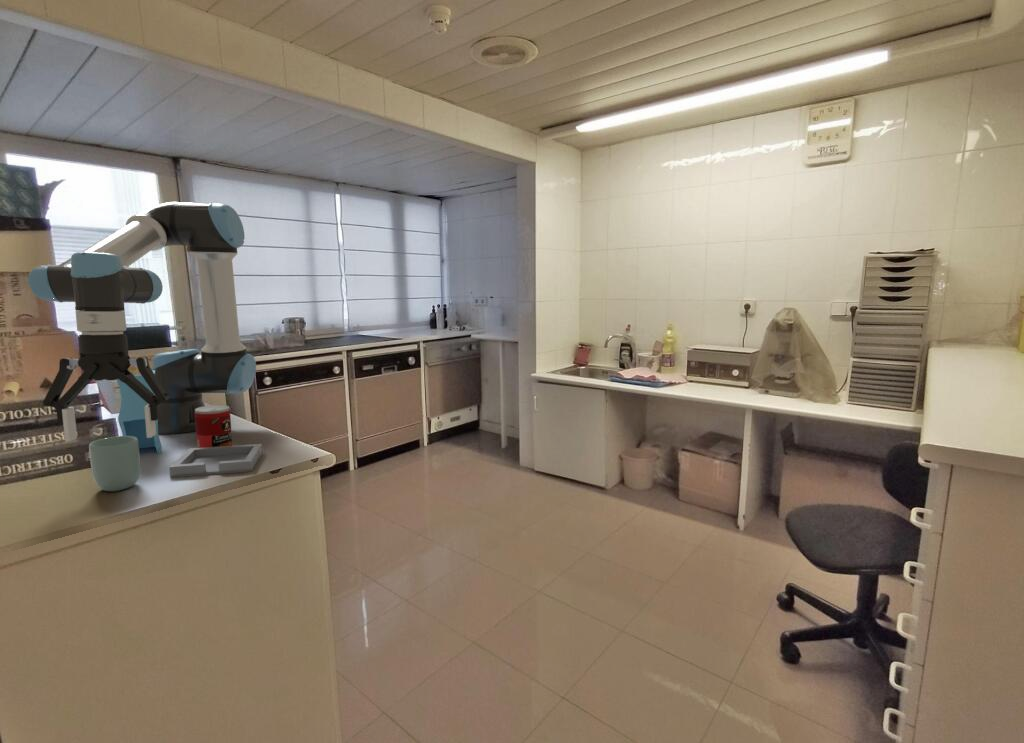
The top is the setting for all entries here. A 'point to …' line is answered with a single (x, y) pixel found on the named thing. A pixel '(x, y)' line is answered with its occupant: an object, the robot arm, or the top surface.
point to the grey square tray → (216, 460)
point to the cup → (115, 462)
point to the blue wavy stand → (136, 416)
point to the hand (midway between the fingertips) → (112, 438)
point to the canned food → (213, 426)
